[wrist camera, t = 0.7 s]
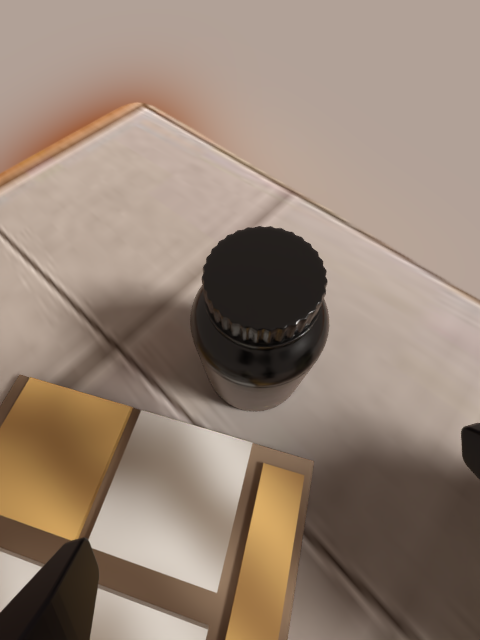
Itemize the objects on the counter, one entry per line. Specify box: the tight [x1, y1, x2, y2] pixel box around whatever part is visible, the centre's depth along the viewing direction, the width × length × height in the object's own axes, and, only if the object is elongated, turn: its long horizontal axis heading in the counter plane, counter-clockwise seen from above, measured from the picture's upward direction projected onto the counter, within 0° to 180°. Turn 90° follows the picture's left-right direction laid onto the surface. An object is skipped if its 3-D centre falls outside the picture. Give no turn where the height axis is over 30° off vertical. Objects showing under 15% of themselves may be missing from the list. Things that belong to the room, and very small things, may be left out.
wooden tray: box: [0, 375, 314, 640], centre depth 16 cm, size 17×20×2 cm
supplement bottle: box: [190, 226, 329, 411], centre depth 17 cm, size 7×7×12 cm
